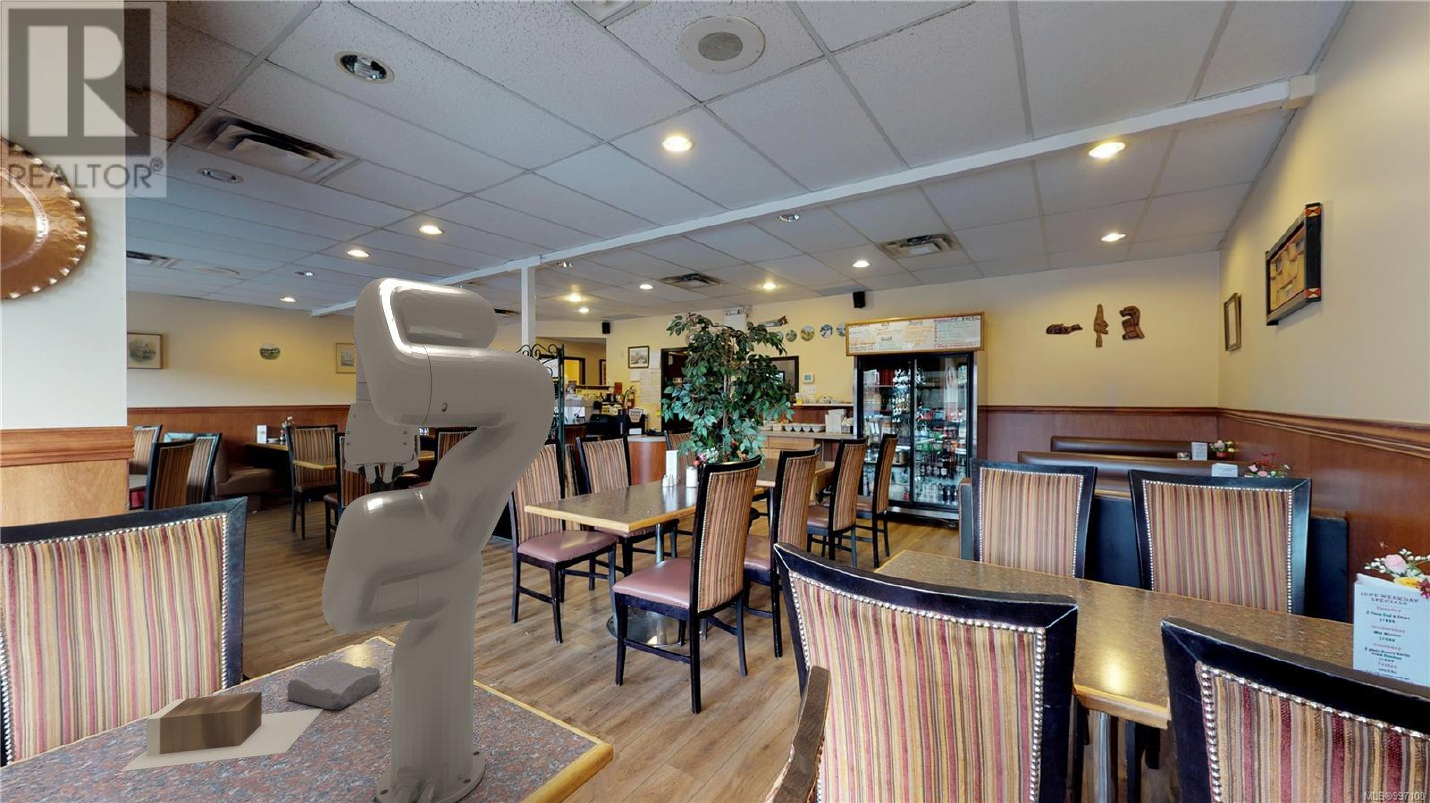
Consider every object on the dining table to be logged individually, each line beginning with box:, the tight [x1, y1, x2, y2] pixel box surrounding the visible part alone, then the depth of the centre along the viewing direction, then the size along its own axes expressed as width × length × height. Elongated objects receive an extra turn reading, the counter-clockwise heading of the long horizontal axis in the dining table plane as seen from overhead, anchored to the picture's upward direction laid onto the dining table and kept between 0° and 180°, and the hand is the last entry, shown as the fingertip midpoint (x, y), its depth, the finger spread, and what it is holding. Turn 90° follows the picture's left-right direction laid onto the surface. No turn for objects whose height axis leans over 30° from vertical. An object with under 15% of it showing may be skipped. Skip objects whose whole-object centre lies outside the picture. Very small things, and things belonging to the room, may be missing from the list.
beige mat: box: [118, 708, 325, 773], centre depth 78 cm, size 11×19×1 cm, turn 102°
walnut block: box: [146, 691, 263, 756], centre depth 77 cm, size 5×5×11 cm
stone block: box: [286, 660, 381, 711], centre depth 90 cm, size 12×5×10 cm
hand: (381, 505), depth 89 cm, fingers closed
